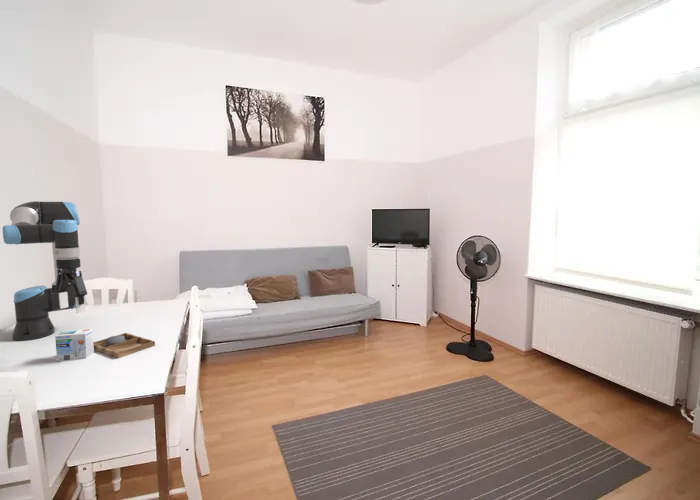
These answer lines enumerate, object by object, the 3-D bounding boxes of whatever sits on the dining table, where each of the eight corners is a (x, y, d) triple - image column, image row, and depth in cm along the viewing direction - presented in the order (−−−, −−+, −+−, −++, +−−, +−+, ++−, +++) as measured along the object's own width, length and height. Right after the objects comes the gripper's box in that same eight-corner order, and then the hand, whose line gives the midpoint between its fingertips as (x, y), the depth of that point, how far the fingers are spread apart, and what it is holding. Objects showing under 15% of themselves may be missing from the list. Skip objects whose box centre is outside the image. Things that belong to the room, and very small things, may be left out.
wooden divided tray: (89, 348, 152) (88, 343, 152) (126, 337, 166) (126, 332, 165) (118, 359, 141) (117, 353, 141) (155, 346, 155) (154, 341, 155)
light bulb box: (56, 361, 139) (54, 335, 137) (65, 355, 145) (63, 330, 144) (87, 359, 141) (85, 333, 140) (94, 352, 148) (92, 328, 147)
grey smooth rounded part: (102, 345, 155) (102, 339, 154) (119, 340, 161) (119, 334, 160) (111, 348, 151) (111, 342, 151) (128, 343, 157) (127, 337, 157)
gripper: (42, 257, 141) (46, 308, 144) (72, 261, 130) (77, 316, 132) (64, 255, 148) (68, 304, 150) (95, 259, 136) (99, 311, 138)
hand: (72, 310), depth 141 cm, fingers open, 13 cm apart
